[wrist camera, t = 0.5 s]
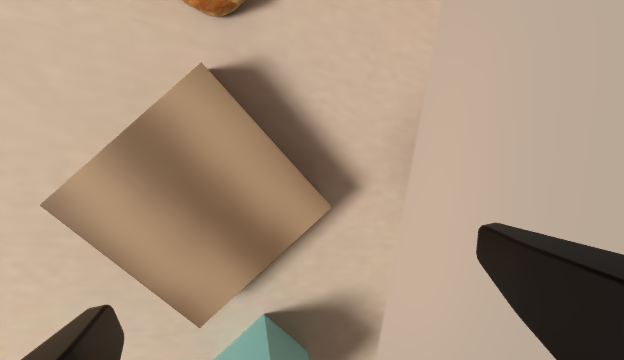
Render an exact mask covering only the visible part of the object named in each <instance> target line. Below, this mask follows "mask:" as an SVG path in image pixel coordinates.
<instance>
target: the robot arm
mask: <svg viewBox="0 0 624 360" xmlns="http://www.w3.org/2000/svg"><path fill="white" fill-rule="evenodd" d="M476 254H477V258H478V260H479V262H480V264H481V265H482V267H483V268H484V269H485V271H486V272H487V273H488V275H489V276H490V278H491V279H492V281H493V282H494V283H495V285H496V286H497V287H498V289H499V290H500V292H501V293H502V294H503V296H504V297H505V299H506V300H507V301H508V303H509V304H510V305H511V307H512V308H513V309H514V311H515V312H516V313H517V314H518V316H519V317H520V318H521V319H522V321H523V322H524V323H525V324H526V325H527V326H528V328H529V329H530V330H531V331H532V332H533V333H534V334H535V336H536V337H537V338H538V339H539V340H540V341H541V343H543V345H544V346H545V347H546V348H547V349H548V350H549V352H550V353H551V354H552V355H553V356H554V358H555V359H556V360H624V255H622V254H618V253H615V252H611V251H607V250H603V249H599V248H595V247H591V246H587V245H583V244H579V243H575V242H571V241H567V240H563V239H559V238H555V237H551V236H547V235H543V234H540V233H535V232H532V231H528V230H523V229H519V228H516V227H512V226H508V225H504V224H500V223H492V224H486V225H482V226H481V227H480V228H479V230H478V240H477V250H476ZM123 345H124V333H123V330H122V327H121V325H120V323H119V321H118V318H117V316H116V314H115V312H114V309H113V308H112V307H111V306H110V305H102V306H97V307H93V308H89V309H87V310H86V311H84V312H83V313H82V314H80V315H79V316H78V317H76V318H75V319H74V320H73V321H71V322H70V323H69V324H67V325H66V326H65V327H63V328H62V329H61V330H59V331H58V332H57V333H55V334H54V335H53V336H51V337H50V338H49V339H48V340H46V341H45V342H44V343H42V344H41V345H40V346H38V347H37V348H36V349H34V350H33V351H32V352H30V353H29V354H28V355H26V356H25V357H24V358H23V359H21V360H120V359H121V354H122V349H123Z"/></svg>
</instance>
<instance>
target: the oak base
mask: <svg viewBox="0 0 624 360" xmlns="http://www.w3.org/2000/svg"><path fill="white" fill-rule="evenodd" d="M40 206H41V207H43V208H44V209H45V210H47V211H48V212H49V213H50V214H52V215H53V216H54V217H56V218H57V219H58V220H60V221H61V222H62V223H63V224H65V225H66V226H67V227H69V228H70V229H71V230H73V231H74V232H75V233H76V234H78V235H79V236H80V237H82V238H83V239H84V240H86V241H87V242H88V243H89V244H91V245H92V246H93V247H95V248H96V249H97V250H99V251H100V252H101V253H102V254H104V255H105V256H106V257H108V258H109V259H110V260H112V261H113V262H114V263H115V264H117V265H118V266H119V267H121V268H122V269H123V270H125V271H126V272H127V273H128V274H130V275H131V276H132V277H134V278H135V279H136V280H138V281H139V282H140V283H141V284H143V285H144V286H145V287H147V288H148V289H149V290H151V291H152V292H153V293H154V294H156V295H157V296H158V297H160V298H161V299H162V300H164V301H165V302H166V303H167V304H169V305H170V306H171V307H173V308H174V309H175V310H177V311H178V312H179V313H181V314H182V315H183V316H184V317H186V318H187V319H188V320H190V321H191V322H192V323H194V324H195V325H196V326H197V327H199V328H200V327H201V326H203V325H204V324H205V323H206V322H207V321H208V320H209V319H210V318H211V317H212V316H213V315H215V314H216V313H217V312H218V311H219V310H220V309H221V308H222V307H223V306H224V305H226V304H227V303H228V302H229V301H230V300H231V299H232V298H233V297H234V296H235V295H236V294H238V293H239V292H240V291H241V290H242V289H243V288H244V287H245V286H246V285H247V284H249V283H250V282H251V281H252V280H253V279H254V278H255V277H256V276H257V275H258V274H259V273H261V272H262V271H263V270H264V269H265V268H266V267H267V266H268V265H269V264H270V263H271V262H273V261H274V260H275V259H276V258H277V257H278V256H279V255H280V254H281V253H282V252H284V251H285V250H286V249H287V248H288V247H289V246H290V245H291V244H292V243H293V242H294V241H296V240H297V239H298V238H299V237H300V236H301V235H302V234H303V233H304V232H305V231H307V230H308V229H309V228H310V227H311V226H312V225H313V224H314V223H315V222H316V221H317V220H319V219H320V218H321V217H322V216H323V215H324V214H325V213H326V212H327V211H328V210H330V209H331V208H332V207H331V206H330V205H329V204H328V203H327V201H326V200H325V199H324V198H323V197H322V196H321V195H320V194H319V193H318V191H317V190H316V189H315V188H314V187H313V186H312V185H311V184H310V183H309V181H308V180H307V179H306V178H305V177H304V176H303V175H302V174H301V173H300V171H299V170H298V169H297V168H296V167H295V166H294V165H293V164H292V163H291V161H290V160H289V159H288V158H287V157H286V156H285V155H284V154H283V153H282V151H281V150H280V149H279V148H278V147H277V146H276V145H275V144H274V143H273V141H272V140H271V139H270V138H269V137H268V136H267V135H266V134H265V132H264V131H263V130H262V129H261V128H260V127H259V126H258V125H257V124H256V122H255V121H254V120H253V119H252V118H251V117H250V116H249V115H248V114H247V112H246V111H245V110H244V109H243V108H242V107H241V106H240V105H239V104H238V102H237V101H236V100H235V99H234V98H233V97H232V96H231V95H230V94H229V92H228V91H227V90H226V89H225V88H224V87H223V86H222V85H221V84H220V82H219V81H218V80H217V79H216V78H215V77H214V76H213V75H212V74H211V72H210V71H209V70H208V69H207V68H206V67H205V66H204V65H203V64H202V62H201V63H200V64H199V65H198V66H197V67H195V68H194V69H193V70H192V71H191V72H190V73H189V74H188V75H186V76H185V77H184V78H183V79H182V80H181V81H180V82H178V83H177V84H176V85H175V86H174V87H173V88H172V89H171V90H169V91H168V92H167V93H166V94H165V95H164V96H163V97H162V98H160V99H159V100H158V101H157V102H156V103H155V104H154V105H152V106H151V107H150V108H149V109H148V110H147V111H146V112H145V113H143V114H142V115H141V116H140V117H139V118H138V119H137V120H136V121H134V122H133V123H132V124H131V125H130V126H129V127H128V128H126V129H125V130H124V131H123V132H122V133H121V134H120V135H119V136H117V137H116V138H115V139H114V140H113V141H112V142H111V143H110V144H108V145H107V146H106V147H105V148H104V149H103V150H102V151H100V152H99V153H98V154H97V155H96V156H95V157H94V158H93V159H91V160H90V161H89V162H88V163H87V164H86V165H85V166H83V167H82V168H81V169H80V170H79V171H78V172H77V173H76V174H74V175H73V176H72V177H71V178H70V179H69V180H68V181H67V182H65V183H64V184H63V185H62V186H61V187H60V188H59V189H57V190H56V191H55V192H54V193H53V194H52V195H51V196H50V197H48V198H47V199H46V200H45V201H44V202H43V203H42V204H41V205H40Z"/></svg>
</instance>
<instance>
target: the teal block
mask: <svg viewBox="0 0 624 360" xmlns="http://www.w3.org/2000/svg"><path fill="white" fill-rule="evenodd" d="M214 360H310V359H309V356H308V352H307V350H306V349H304V348H303V347H302V346H301V345H300V344H299V343H297V342H296V341H295V340H294V339H293V338H292V337H290V336H289V335H288V334H287V333H286V332H285V331H283V330H282V329H281V328H280V327H279V326H278V325H276V324H275V323H274V322H273V321H272V320H271V319H269V318H268V317H267V316H266V315H265V314H263V315H262V316H261V317H260V318H259V319H258V320H257V321H256V322H255V323H254V324H252V325H251V326H250V327H249V328H248V329H247V330H246V331H245V332H244V333H243V334H242V335H240V336H239V337H238V338H237V339H236V340H235V341H234V342H233V343H232V344H231V345H230V346H228V347H227V348H226V349H225V350H224V351H223V352H222V353H221V354H220V355H219V356H218V357H217V358H215V359H214Z"/></svg>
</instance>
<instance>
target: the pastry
mask: <svg viewBox="0 0 624 360" xmlns="http://www.w3.org/2000/svg"><path fill="white" fill-rule="evenodd" d="M183 1H184V2H185V3H186V4H188V5H190V6H192V7H194V8H196V9H198V10H199V11H201V12H203V13H205V14H207V15H210V16H215V17H222V16H224V15H226V14H229V13H231V12H233V11H234V10H235V9H237V8H238V7H239V5H240V4H242V3H243V2H244V1H245V0H183Z"/></svg>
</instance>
